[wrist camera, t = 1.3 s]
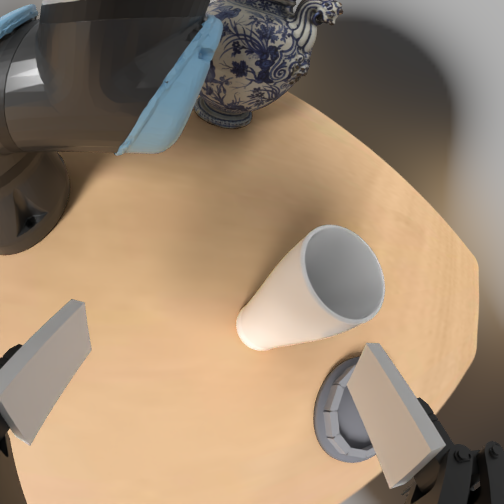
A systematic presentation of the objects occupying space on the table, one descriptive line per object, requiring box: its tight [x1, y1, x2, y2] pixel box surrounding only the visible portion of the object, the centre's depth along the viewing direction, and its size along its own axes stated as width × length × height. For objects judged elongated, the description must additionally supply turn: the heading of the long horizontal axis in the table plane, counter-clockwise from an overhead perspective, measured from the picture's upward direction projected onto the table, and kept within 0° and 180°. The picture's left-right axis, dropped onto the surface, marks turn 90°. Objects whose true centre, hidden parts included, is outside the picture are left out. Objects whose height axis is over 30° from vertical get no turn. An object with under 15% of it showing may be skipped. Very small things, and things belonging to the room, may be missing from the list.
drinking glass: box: [236, 225, 385, 351], centre depth 22 cm, size 7×7×15 cm
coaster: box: [313, 357, 376, 463], centre depth 26 cm, size 14×14×2 cm
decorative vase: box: [194, 0, 343, 128], centre depth 32 cm, size 21×19×28 cm
